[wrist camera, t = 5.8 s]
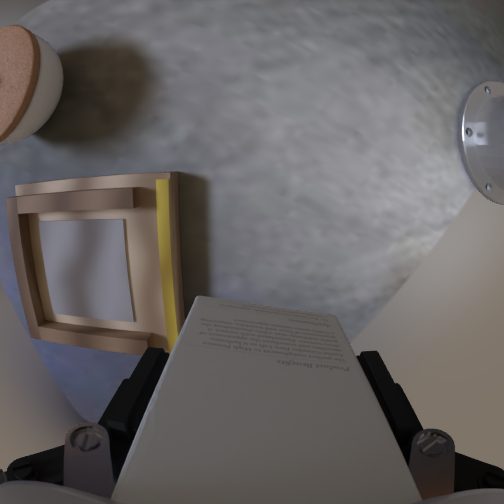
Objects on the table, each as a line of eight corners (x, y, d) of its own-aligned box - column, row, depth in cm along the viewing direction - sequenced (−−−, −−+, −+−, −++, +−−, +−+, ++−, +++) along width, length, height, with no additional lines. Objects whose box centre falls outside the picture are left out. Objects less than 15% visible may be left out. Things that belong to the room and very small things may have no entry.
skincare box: (190, 372, 14) (112, 622, 3) (196, 284, 13) (51, 593, 2) (319, 388, 14) (361, 636, 3) (343, 305, 13) (467, 597, 2)
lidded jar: (94, 111, 25) (30, 97, 16) (17, 165, 26) (-48, 172, 17) (70, 26, 22) (15, -5, 13) (-2, 83, 23) (-60, 73, 14)
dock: (178, 171, 26) (164, 173, 22) (187, 344, 30) (178, 367, 26) (30, 183, 26) (5, 187, 22) (52, 329, 30) (33, 346, 27)
